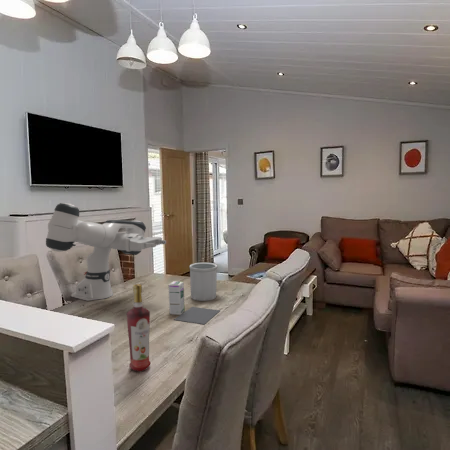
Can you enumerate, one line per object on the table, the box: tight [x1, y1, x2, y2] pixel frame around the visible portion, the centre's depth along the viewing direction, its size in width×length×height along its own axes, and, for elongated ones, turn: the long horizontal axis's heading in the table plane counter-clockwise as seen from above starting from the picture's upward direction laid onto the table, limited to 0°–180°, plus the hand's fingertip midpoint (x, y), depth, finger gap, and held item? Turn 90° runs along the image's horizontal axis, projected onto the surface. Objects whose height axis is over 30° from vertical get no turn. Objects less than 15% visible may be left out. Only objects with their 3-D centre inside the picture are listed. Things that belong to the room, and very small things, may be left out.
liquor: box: [126, 283, 152, 372], centre depth 114 cm, size 7×7×28 cm
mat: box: [173, 306, 221, 326], centre depth 163 cm, size 15×18×1 cm
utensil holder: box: [189, 262, 218, 302], centre depth 190 cm, size 15×15×18 cm
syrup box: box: [168, 280, 186, 316], centre depth 167 cm, size 6×6×14 cm
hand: (160, 243), depth 172 cm, fingers open, 8 cm apart
